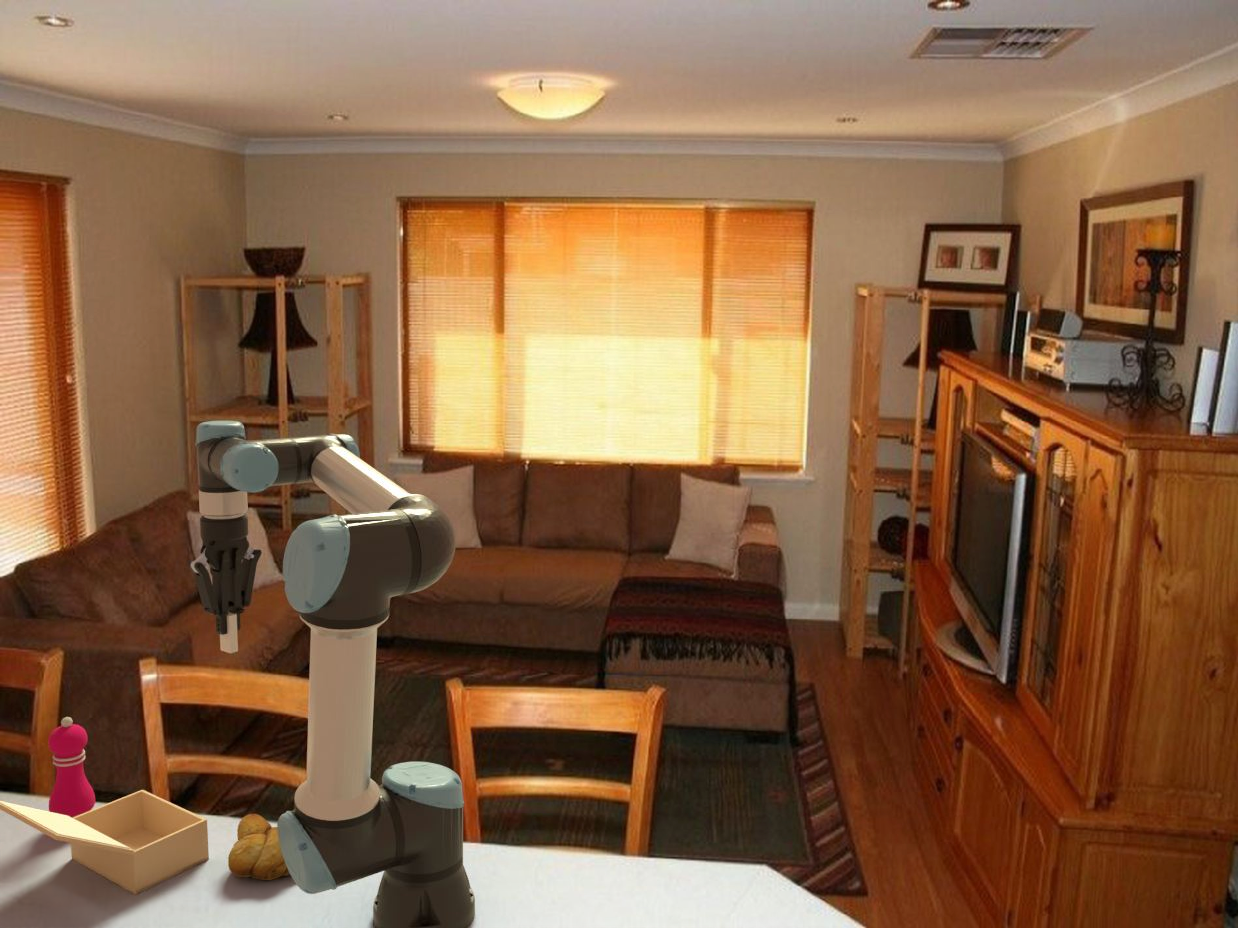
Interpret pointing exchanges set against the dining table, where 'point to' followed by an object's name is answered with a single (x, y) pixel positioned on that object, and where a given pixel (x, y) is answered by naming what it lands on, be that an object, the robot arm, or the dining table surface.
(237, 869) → the bread roll
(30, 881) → the dining table surface
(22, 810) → the lid
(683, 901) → the dining table surface
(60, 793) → the pepper mill
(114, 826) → the mailer box
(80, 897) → the dining table surface
